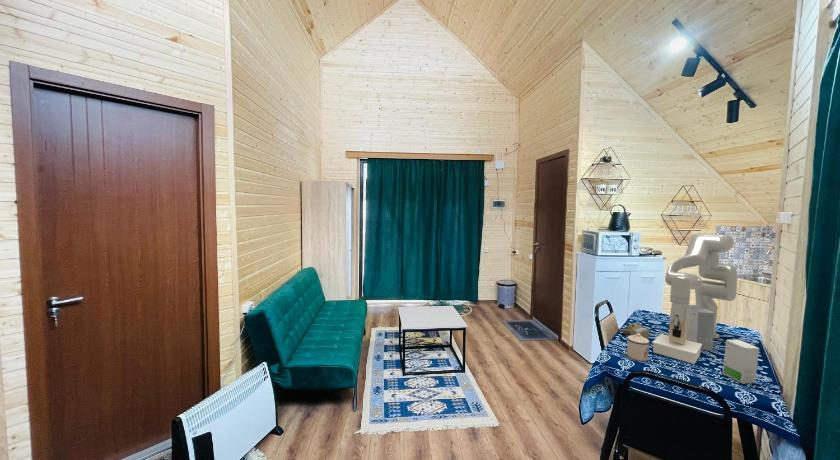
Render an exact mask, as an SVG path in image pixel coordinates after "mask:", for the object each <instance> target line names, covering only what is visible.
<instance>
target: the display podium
mask: <svg viewBox="0 0 840 460" xmlns="http://www.w3.org/2000/svg"><path fill="white" fill-rule="evenodd" d="M652 344H653V346H652V349H653V350H652V351H653V354H654V353H655V354H658V355H661V356H665V357H669V358H670V359H671V358H672V359H675V360H679V361H683V362H685V363H688V364H693V365H695V364H696V362H697V360H698V359H699V357H700V355H701V352H702V350H701V346H702V344H701V343H696V342H692V341H688V340H686V342H685V344H681V343H677V342H673V341H669V334H668V335H667V334H663V333H660V334H659V335H658V336H657V337H656V338H655V339H654V340H653V341H652Z"/></svg>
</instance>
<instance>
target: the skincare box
mask: <svg viewBox="0 0 840 460" xmlns="http://www.w3.org/2000/svg"><path fill="white" fill-rule="evenodd" d="M759 354H760V348H759V347H757V346H755V345H753V344H751V343H748V342H745V341H743V340H740V339H726V340H725V349H724V358H723V366H722V374H723V375H725V376H727V377H729V378H731V379H733V380H735V381H736V382H738V383H741V384H756V378H757V377H756V376H757V370H758V360H759Z"/></svg>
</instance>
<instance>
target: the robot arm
mask: <svg viewBox="0 0 840 460" xmlns="http://www.w3.org/2000/svg"><path fill="white" fill-rule="evenodd" d="M733 246H734V239H733V237H732V236H731V235H730V234H717V233H716V234H714V233H695V234H693V235H691V237H690V241H689V243H688V246H687V249H686V251H685V254H684V256H682V257H679V258H677V259H676V260H674V261H673V262H672V263H671V264H670V265H668V266H669V267H668V268H667V271H666V273H665V278H664V281H665V283H666V284H667V285H668V286H670V295H669V296H670V297H669V298H670V299H669V302H670V303H671V307H670V314H669V315H670V317H669V323H670V322H673V320H674V323H673V332H672V336H674V337H678V338H680V337H681V330H680V328H681V324H683V321H684V320H685V319H686V307H687V305H691V304H690V300H691V290H694V292H695V293H694V294H695V305H696V306H699V307H701V308H704V309H706V310H708V311H711V312H713V313H715V319H714V334H713V339H719V338H720V334H719V333H717V323H718V321H717V319H718V307H719V306H718V305H717V302H716V301H715V300H714V299H716V300H721V301H727V302H732V301H734V300H735V299H736V297H737V288H738V287H737V286H738V270H737V267H736V266H734V265H733V264H728V263H727V264H726V263H721V262H720V253H726V252H728V251H730V250H731V249H732V248H733ZM692 267H698V274H699V275H697V274H694V273H686V272H679V271H680V270H683V269H687V268H692ZM702 278H703V280H702ZM704 279H707V280H704ZM712 280H715V281H712ZM718 281H721V282H718ZM678 322H680V323H678ZM678 325H679V326H678Z"/></svg>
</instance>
